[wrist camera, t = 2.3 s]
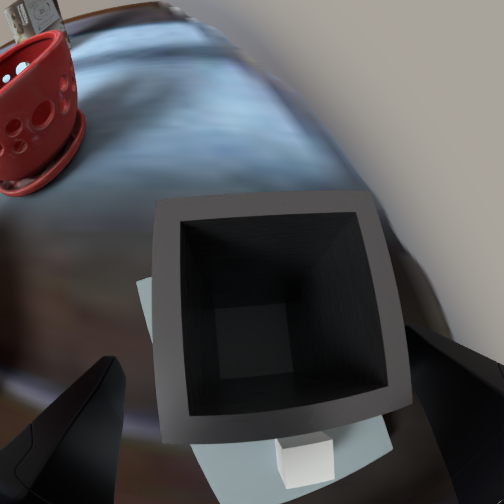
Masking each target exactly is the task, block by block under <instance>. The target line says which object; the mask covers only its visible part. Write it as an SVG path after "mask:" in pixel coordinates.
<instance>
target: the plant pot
mask: <svg viewBox="0 0 504 504" xmlns="http://www.w3.org/2000/svg"><path fill="white" fill-rule="evenodd" d="M22 62H27V63H29V64H30V65H29V66H27V67H26V68H25V69H24V70H23V71H22V72H21V73H19V74H18V75H17V74H16V67H17V66H18V64H20V63H22ZM7 74H8V75H10V80H9V81H8V82H7V83H4V82H3V81H2V79H3V77H4V76H5V75H7ZM85 125H86V123H85V117H84V114H83V113H82V111H81V110H80V109H78V108H77V85H76V79H75V72H74V67H73V62H72V58H71V54H70V51H69V48H68V45H67V42H66V39H65V36H64V33H63V32H62V31H60V30H50V31H46V32H43V33H40V34H37V35H35V36H33V37H30V38H28V39H26V40H24V41H22V42H20V43H19V44H17V45H15V46H14V47H12V48H10V49H9V50H7V51H6V52H4V53H3V54H2V55H0V192H1V193H3V194H5V195H7V196H11V197H21V196H25V195H28V194H30V193H32V192H35V191H37V190H38V189H40V188H42V187H43V186H45V185H46V184H47V183H49V182H50V181H51V180H52V179H53V178H55V177H56V176H57V175H58V174H59V173H60V172H61V171H62V170H63V169H64V168H65V166H66V165H67V164H68V163H69V162H70V160H71V159H72V158H73V156H74V155H75V153H76V151H77V150H78V148H79V146H80V143H81V141H82V139H83V136H84V132H85Z"/></svg>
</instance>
